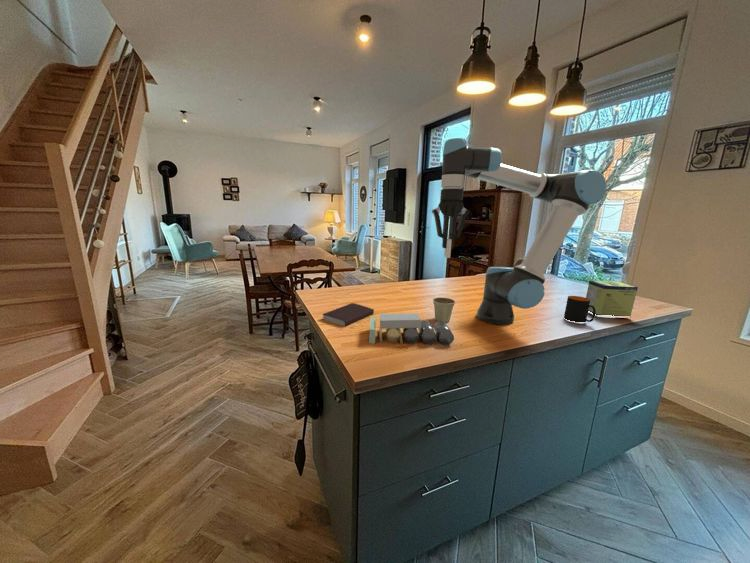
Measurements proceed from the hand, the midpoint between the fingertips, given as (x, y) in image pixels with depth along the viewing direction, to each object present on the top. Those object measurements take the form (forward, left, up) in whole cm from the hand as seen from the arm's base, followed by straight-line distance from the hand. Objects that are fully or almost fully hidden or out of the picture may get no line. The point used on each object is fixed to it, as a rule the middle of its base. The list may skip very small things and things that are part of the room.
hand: (447, 257), depth 108 cm
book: (+36, -13, -30) cm, 48 cm away
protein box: (-86, -30, -29) cm, 95 cm away
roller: (+16, +6, -27) cm, 32 cm away
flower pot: (-4, -14, -29) cm, 32 cm away
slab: (+16, +6, -24) cm, 30 cm away
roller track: (+10, +6, -29) cm, 31 cm away
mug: (-65, -18, -29) cm, 73 cm away
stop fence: (+26, +6, -29) cm, 39 cm away
